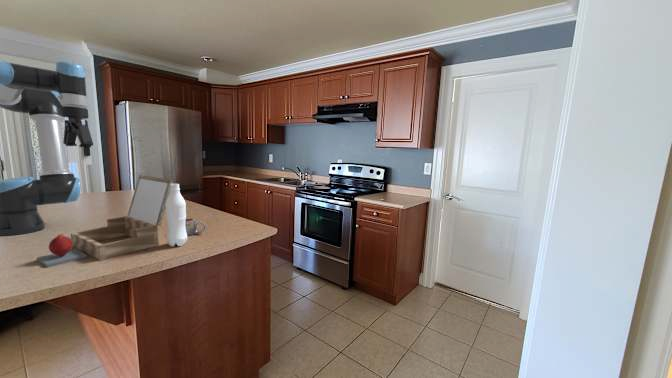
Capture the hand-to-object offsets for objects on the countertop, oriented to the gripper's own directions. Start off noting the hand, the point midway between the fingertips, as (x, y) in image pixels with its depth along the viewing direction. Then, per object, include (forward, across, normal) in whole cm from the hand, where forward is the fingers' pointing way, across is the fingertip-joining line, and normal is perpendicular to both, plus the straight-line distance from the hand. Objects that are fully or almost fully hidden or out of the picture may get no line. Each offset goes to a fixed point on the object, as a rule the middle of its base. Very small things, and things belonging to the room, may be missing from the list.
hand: (79, 163), depth 106 cm
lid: (+15, +12, +18) cm, 26 cm away
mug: (+32, +22, +31) cm, 49 cm away
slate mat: (+32, +13, -11) cm, 36 cm away
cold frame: (+32, +12, +5) cm, 34 cm away
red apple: (+31, +13, -11) cm, 35 cm away
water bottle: (+32, +30, +19) cm, 48 cm away
